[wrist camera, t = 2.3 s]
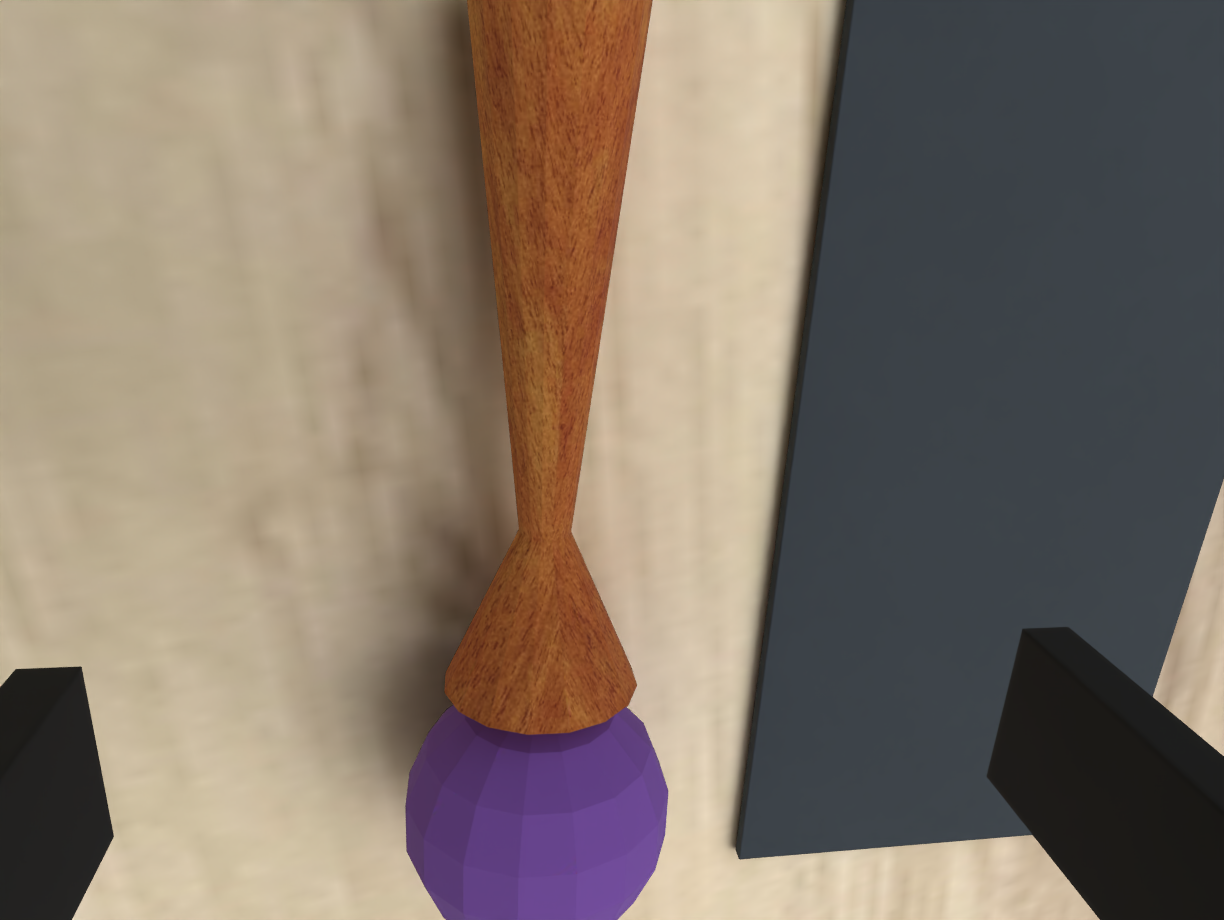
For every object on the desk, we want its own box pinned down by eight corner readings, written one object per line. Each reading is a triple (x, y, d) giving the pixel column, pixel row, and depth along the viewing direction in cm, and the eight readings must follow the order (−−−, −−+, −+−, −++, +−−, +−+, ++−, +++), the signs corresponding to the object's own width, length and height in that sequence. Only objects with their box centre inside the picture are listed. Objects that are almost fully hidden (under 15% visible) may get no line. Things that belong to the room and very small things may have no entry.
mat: (858, -100, 17) (866, -104, 17) (1379, -48, 19) (1398, -51, 19) (735, 849, 26) (738, 860, 25) (1101, 819, 28) (1109, 828, 27)
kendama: (795, -30, 14) (699, 978, 19) (652, 31, 19) (610, 806, 25) (407, -90, 12) (427, 1054, 17) (369, -3, 17) (394, 849, 23)
